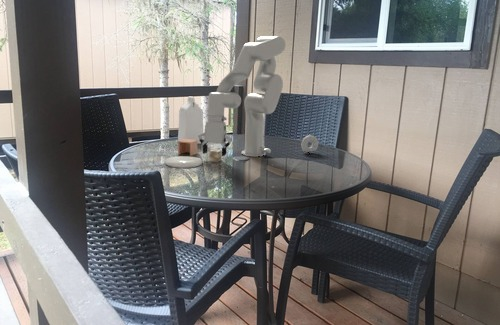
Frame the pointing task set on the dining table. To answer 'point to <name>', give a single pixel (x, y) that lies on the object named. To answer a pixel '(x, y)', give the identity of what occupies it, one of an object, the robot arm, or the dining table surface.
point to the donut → (305, 142)
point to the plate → (183, 162)
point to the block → (215, 155)
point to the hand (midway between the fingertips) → (214, 154)
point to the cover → (187, 146)
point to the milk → (190, 121)
